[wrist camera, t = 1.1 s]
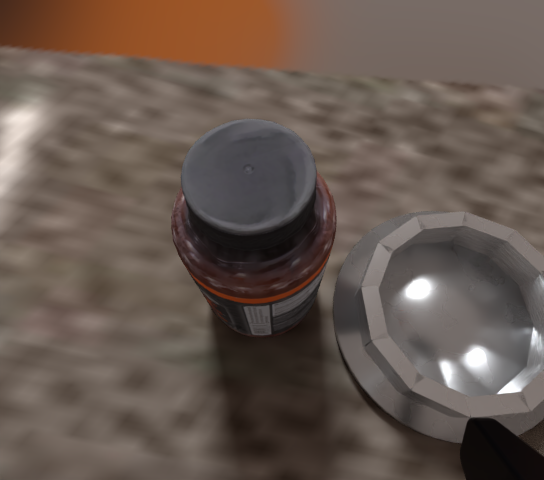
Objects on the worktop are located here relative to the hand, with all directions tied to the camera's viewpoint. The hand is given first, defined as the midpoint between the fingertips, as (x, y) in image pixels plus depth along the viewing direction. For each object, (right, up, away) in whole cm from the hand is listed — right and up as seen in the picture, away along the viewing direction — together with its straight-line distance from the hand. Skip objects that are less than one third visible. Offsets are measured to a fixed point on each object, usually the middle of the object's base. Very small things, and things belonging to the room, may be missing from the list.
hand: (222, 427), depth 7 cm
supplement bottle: (0, +1, +15) cm, 15 cm away
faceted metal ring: (+10, -1, +14) cm, 17 cm away
